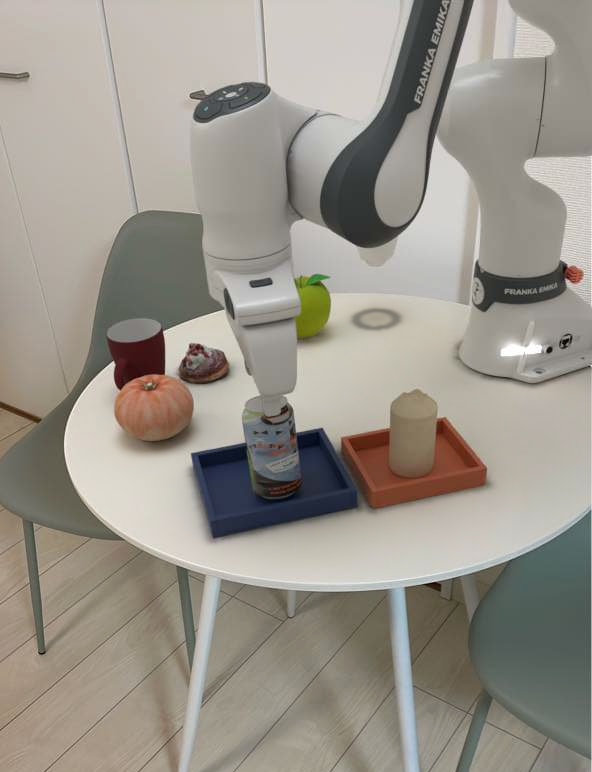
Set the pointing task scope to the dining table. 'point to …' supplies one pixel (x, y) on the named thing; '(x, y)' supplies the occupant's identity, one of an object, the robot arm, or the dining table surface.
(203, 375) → the pastry
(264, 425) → the beverage can
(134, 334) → the mug
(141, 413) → the orange pumpkin
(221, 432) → the dining table surface
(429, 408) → the candle
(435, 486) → the terracotta tray
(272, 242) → the robot arm
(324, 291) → the fruit
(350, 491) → the navy tray
